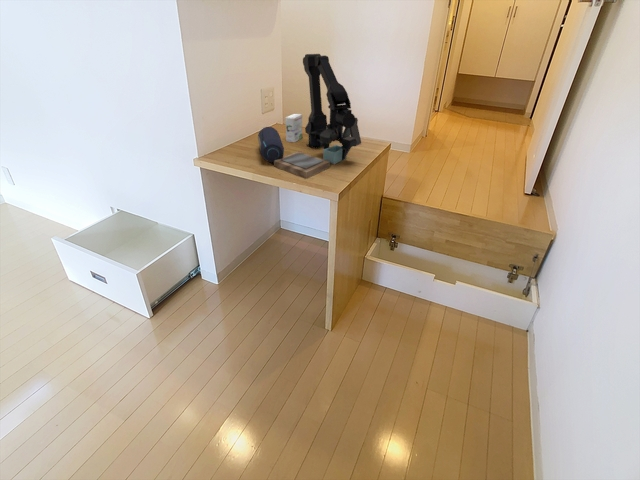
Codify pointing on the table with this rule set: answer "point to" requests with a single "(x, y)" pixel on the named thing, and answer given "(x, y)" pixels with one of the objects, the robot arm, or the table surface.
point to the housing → (333, 154)
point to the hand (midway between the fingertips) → (334, 157)
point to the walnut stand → (302, 164)
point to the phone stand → (353, 132)
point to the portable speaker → (270, 144)
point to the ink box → (293, 127)
